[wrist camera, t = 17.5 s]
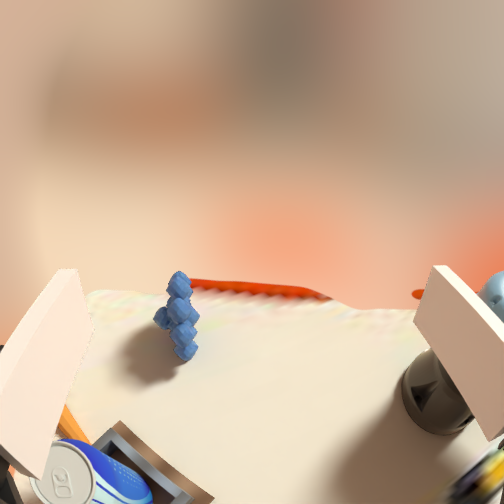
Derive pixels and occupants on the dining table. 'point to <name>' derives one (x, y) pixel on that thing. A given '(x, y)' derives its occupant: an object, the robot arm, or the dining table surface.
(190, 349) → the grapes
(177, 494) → the holder
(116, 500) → the beer can
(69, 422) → the carrot
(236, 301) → the dining table surface
